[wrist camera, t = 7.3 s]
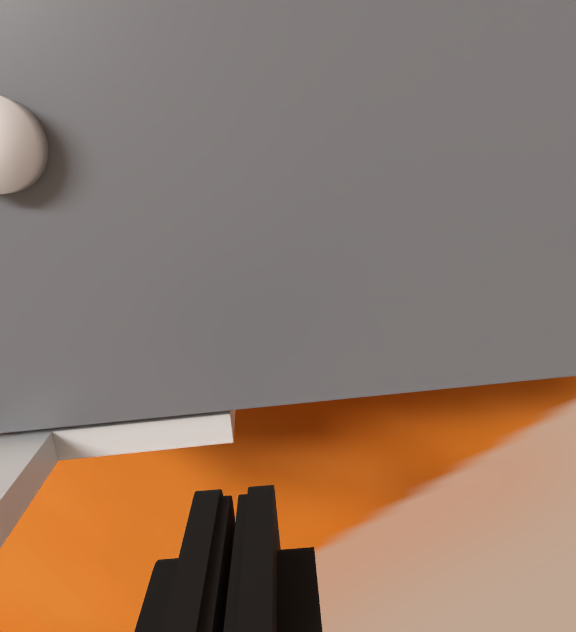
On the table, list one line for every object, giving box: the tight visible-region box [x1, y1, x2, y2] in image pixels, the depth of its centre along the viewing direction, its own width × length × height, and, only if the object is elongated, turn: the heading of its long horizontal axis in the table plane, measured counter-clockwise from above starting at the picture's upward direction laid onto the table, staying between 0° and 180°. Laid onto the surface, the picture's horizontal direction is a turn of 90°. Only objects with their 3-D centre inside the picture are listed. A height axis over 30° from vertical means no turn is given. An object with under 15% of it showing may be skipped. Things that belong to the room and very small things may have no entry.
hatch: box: [0, 410, 236, 548], centre depth 18 cm, size 8×1×12 cm, turn 95°
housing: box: [0, 0, 576, 433], centre depth 19 cm, size 22×13×10 cm, turn 95°
